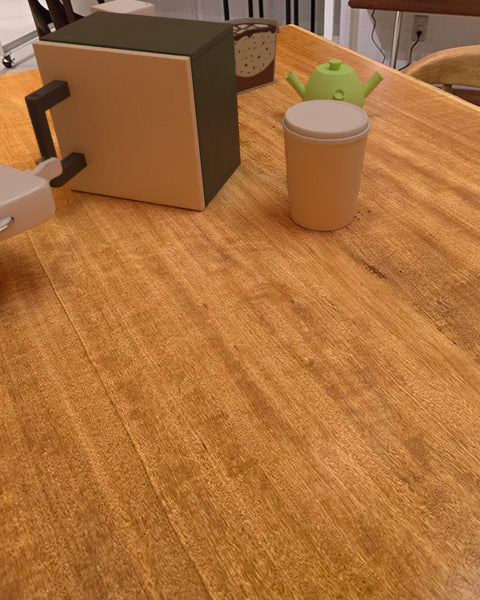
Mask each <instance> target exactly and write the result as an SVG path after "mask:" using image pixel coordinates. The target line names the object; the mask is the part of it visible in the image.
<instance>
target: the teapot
mask: <svg viewBox="0 0 480 600" xmlns="http://www.w3.org/2000/svg"><path fill="white" fill-rule="evenodd" d="M284 79H285V81H286V82H287V83H288V84H289V85H290V86H291V88H292V89H293V90H294V91H295V93H296V94H297V95H298V96H299V97H300V98H301V102H305V101H311V100H336V101H343V102H347V103H350V104H354V105H356V106H358V107H360V108H362V109H363V107H364V106H365V100H366V99H367V98H368V97H369V96H370V95H371V94H372V93H373V91H374V90H375V89H376V88H377V87H378V86H379V85H380V84H381V83H382V81H384V79H385V77H384V76H383V75H382V74H380V72H379V71H375V73H373V75H372V76H371V77H370V78H369V80H368V81H367V82H366V83H365V84H364V85H363V84H362V81H361V79H360V78H359V76H358V74H357V72H356V69H354V67H353V66H351V65H350V64H347V63H343V61H342V60H341V59H339V58H332V59H331V58H330V59H329V60H328V62H325V63H322V64H321V63H320V64H319V65H317V66H316V67H315V68H314V69H313V71H312V73H311V74H310V75H309V77H308V79H307V81H306V83H305V85H304V84H303V83H302V81H301V80H300V79H299V78H298V77H297V75H296V73H295V72H294V71H293V70H291V71H289V72H288V73H287V74H286V75H285V76H284Z"/></svg>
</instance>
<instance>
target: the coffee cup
mask: <svg viewBox="0 0 480 600" xmlns="http://www.w3.org/2000/svg"><path fill="white" fill-rule="evenodd" d="M368 115H369V114H368V113H367V112H366V111H365V110H364V109H363V107H362V108H360V107H358V106H356V105H354V104H350V103H347V102H343V101H336V100H311V101H305V102H302V101H301V102H297V103H295V104H293V105H292V106H290V107H289V108H287V110H286V111H285V113H284V116H283V117H282V120H281V126H282V127H281V128H282V130H283V141H284V157H285V172H286V185H287V197H288V209H289V215H290V218H291V219H292V221H293V222H294V223H295V224H296V225H298V226H300V227H302V228H305V229H308V230H311V231H316V232H317V231H319V232H330V231H337V230H340V229H342V228H345V227H347V226H349V225H350V224H351V223H352V221H353V220H354V219H355V216H356V210H357V206H358V199H359V193H360V187H361V181H362V174H363V168H364V164H365V163H364V162H365V156H366V150H367V144H368V143H367V142H368V135H369V133H370V130H371V120H370V119H369V116H368Z"/></svg>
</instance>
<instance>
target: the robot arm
mask: <svg viewBox="0 0 480 600" xmlns="http://www.w3.org/2000/svg"><path fill="white" fill-rule="evenodd" d="M60 161H61V159H60V158H55V157H51V156H48V155H45V156H44V157H42V158H41V157H38V158H37V159H35V160H34V162H35V168H33V169H30V168H29V169H25V170H21V169H18V168H15V167H12V166H10V165H7V164H5V163H1V162H0V242H4V241H6V240H9V239H11V238H14V237H16V236H18V235H21V234H22V233H25V232H27V231H29V230H32V229H33V228H35V227H37V226H40V225H41V224H44V223H45V222H48V221H49V220H50V219H52V218H53V217H54V215H55V212H56V210H57V206H56V201H55V197H54V194H53V191H52V187H50V185H49V183H50V180H51V179H53V178H55V177H57V176H59V175H61V173H62V166H61V162H60Z"/></svg>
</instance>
